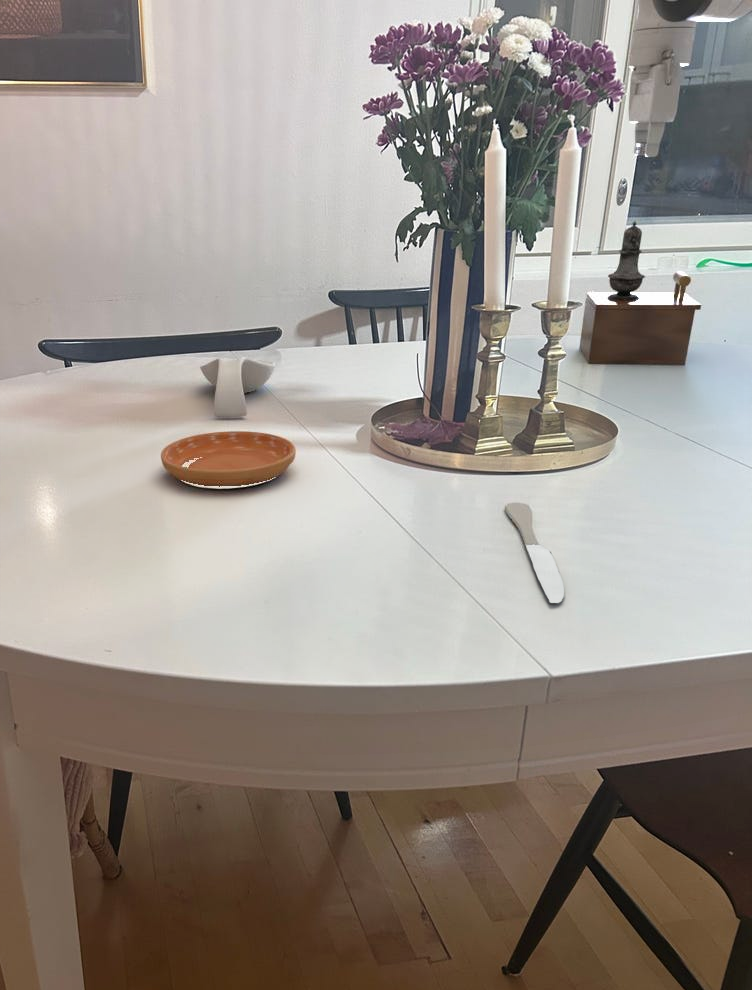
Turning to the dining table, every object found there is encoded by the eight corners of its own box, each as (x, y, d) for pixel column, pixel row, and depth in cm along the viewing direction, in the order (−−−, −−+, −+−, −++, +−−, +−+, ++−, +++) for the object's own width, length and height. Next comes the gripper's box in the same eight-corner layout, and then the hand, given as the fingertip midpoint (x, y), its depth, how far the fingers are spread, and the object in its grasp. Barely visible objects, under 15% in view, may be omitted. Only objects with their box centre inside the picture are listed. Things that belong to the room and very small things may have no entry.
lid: (683, 297, 163) (689, 268, 160) (700, 309, 152) (706, 278, 150) (585, 297, 165) (589, 268, 163) (595, 309, 154) (600, 278, 152)
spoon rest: (204, 381, 154) (202, 336, 150) (276, 379, 153) (275, 334, 150) (191, 420, 133) (187, 369, 129) (273, 418, 133) (272, 367, 129)
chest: (669, 349, 167) (678, 297, 163) (685, 364, 156) (695, 309, 152) (579, 348, 169) (585, 297, 165) (588, 363, 159) (595, 309, 154)
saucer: (134, 479, 111) (132, 454, 109) (221, 445, 122) (220, 423, 120) (239, 505, 102) (238, 479, 101) (322, 467, 113) (322, 443, 112)
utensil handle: (531, 502, 99) (503, 502, 100) (574, 602, 79) (538, 601, 79) (531, 506, 100) (503, 505, 100) (573, 606, 79) (537, 605, 79)
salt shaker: (603, 300, 157) (614, 222, 151) (606, 294, 162) (617, 219, 156) (640, 301, 155) (653, 222, 149) (642, 296, 160) (654, 219, 154)
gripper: (698, 47, 132) (679, 157, 139) (668, 56, 150) (653, 153, 156) (651, 49, 133) (635, 158, 140) (627, 58, 151) (614, 154, 157)
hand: (645, 155), depth 148 cm, fingers open, 8 cm apart
